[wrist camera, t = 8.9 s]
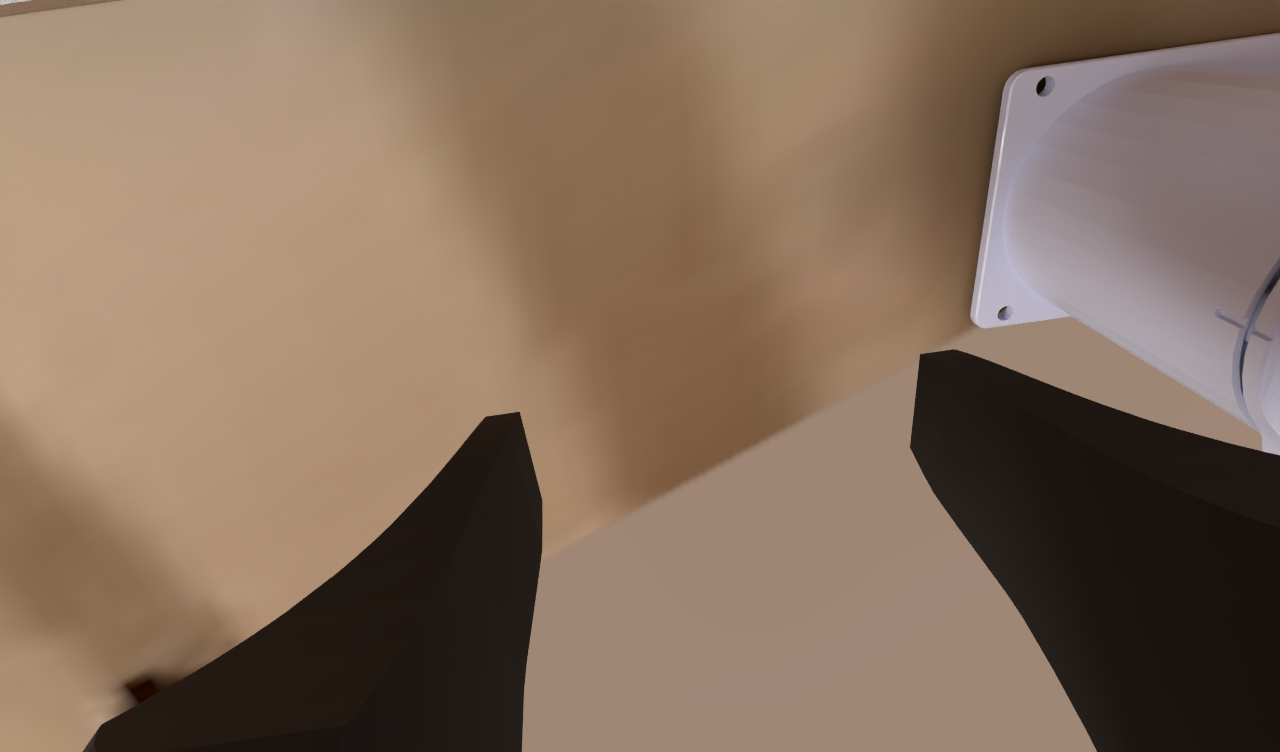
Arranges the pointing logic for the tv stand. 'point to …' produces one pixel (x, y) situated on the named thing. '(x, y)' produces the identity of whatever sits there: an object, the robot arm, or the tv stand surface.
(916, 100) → the tv stand surface
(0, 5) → the grey rectangular holder
